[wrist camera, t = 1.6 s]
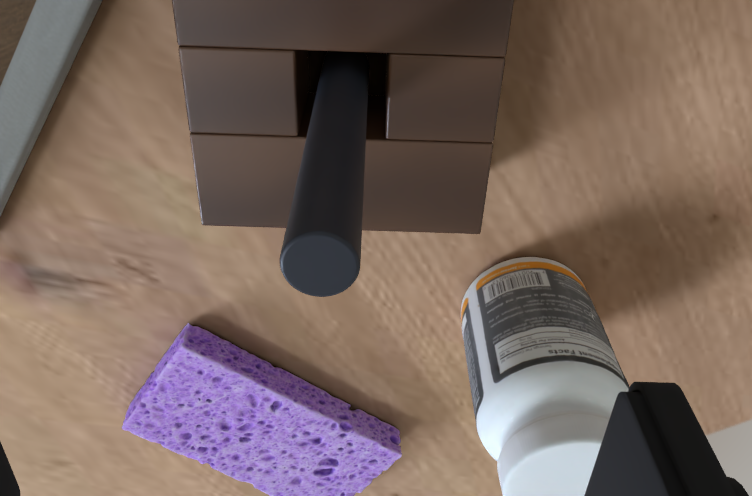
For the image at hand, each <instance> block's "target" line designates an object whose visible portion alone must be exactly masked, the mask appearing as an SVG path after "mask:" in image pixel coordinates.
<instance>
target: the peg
mask: <svg viewBox="0 0 752 496" xmlns="http://www.w3.org/2000/svg"><path fill="white" fill-rule="evenodd" d="M368 84H369V60H368V57H367V55H366V54H365V52H344V51H328V52H327V53H326V55H325V57H324V60H323V65H322V69H321V74H320V79H319V83H318V88H317V92H316V97H315V101H314V106H313V110H312V115H311V119H310V124H309V128H308V133H307V137H306V142H305V146H304V151H303V155H302V160H301V164H300V169H299V174H298V178H297V183H296V187H295V192H294V196H293V201H292V205H291V210H290V214H289V219H288V223H287V228H286V232H285V237H284V241H283V246H282V250H281V255H280V268H281V271H282V273H283V275H284V277H285V279H286V280H287V281H288V283H289V284H290V285H291V286H293V287H294V288H295V289H297V290H298V291H300V292H302V293H305V294H308V295H311V296H319V297H325V296H332V295H336V294H338V293H341V292H343V291H344V290H346V289H347V288H348V287H350V286H351V285H352V284H353V282H354V281H355V280H356V278H357V276H358V274H359V270H360V259H361V237H362V215H363V193H364V171H365V149H366V127H367V106H368Z"/></svg>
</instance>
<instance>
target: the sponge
mask: <svg viewBox="0 0 752 496" xmlns="http://www.w3.org/2000/svg"><path fill="white" fill-rule="evenodd" d="M350 406H351V405H350V404H348V403H346V402H344V401H342V400H340V399H338V398H335V397H332V396H331V395H330V394H328V393H327V392H326V391H324V390H322V389H320V388H318V387H316V386H314V385H312V384H310V383H308V382H306V381H305V380H303V379H301V378H299V377H297V376H295V375H293V374H291V373H289V372H287V371H285V370H283V369H281V368H278V367H275V368H274V367H273V366H272V365H271V363H269V362H267V361H265V360H262V359H260V358H258V357H256V356H255V355H253V354H249V353H248V352H247V351H245V350H242V349H240V348H238V347H237V346H235V345H233V344H232V343H230V342H229V341H226V340H223V339H220V338H219V337H218V336H216V335H213V334H212V333H211V332H209V331H207V330H205V329H201V328H200V327H197V326H191V325H190V324H189V323H188V324H187V325H186V326H185V327H184V328H183V330H182V331H181V332H180V334H179V335H178V336H177V338H176V339H175V341H174V343H173V344H172V345H171V346H170V348H169V350H168V351H167V352H166V353H165V354H164V356H163V357H162V359H161V361H160V362H159V363H158V364H157V366H156V368H155V371H154V372H153V373H151V375H150V377H149V378H148V379H147V381H146V383H145V385H143V386H142V388H141V389H140V390H139V392H138V393H137V394H136V396H135V398H134V399H133V400H132V402H131V403H130V406H129V408H128V410H127V413H126V419H125V420H124V424H123V426H122V429H123V430H127V431H130V432H131V433H133V434H134V435H137V436H139V437H141V438H144V439H147V440H149V441H151V442H157V443H160V444H161V445H162V446H163V447H164V448H168V449H170V450H171V451H173V452H176V453H178V454H181V455H185V456H186V457H188V458H193V459H196V460H198V461H199V462H200V463H201V464H204V463H208V464H210V466H211V467H212V468H213V469H215V470H218V471H220V472H222V473H224V474H226V475H228V476H230V477H233V478H234V479H236V480H239V481H243V482H248V483H251V484H253V485H254V488H256V489H259V490H260V491H262V492H265V493H266V494H268V495H270V496H354V495H355V493H356V492H358V493H361V492H362V491H363V489H364V488H365V487H366V486H368V485H369V484H371V482H372V480H373V478H376V477H377V476H378V475H379V474H381V473H382V471H383V470H387V469H388V468H389V467H390V466H391V465H392V464H393V463H394V462H395V461H396V460H397V459H399V458H400V457H401V456H402V453H401V448H400V447H401V446H399V444H400V442H401V440H400V437H399V435H400V431H399V430H398V429H397V428H395V427H394V426H391V425H390V424H388V423H385V422H382V421H380V420H379V419H378V418H376V417H374V416H372V415H369V414H367V413H366V412H364V411H362V410H360V409H356V410H354V411H352V410H350V409H349V408H350Z"/></svg>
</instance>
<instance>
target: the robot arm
mask: <svg viewBox="0 0 752 496" xmlns="http://www.w3.org/2000/svg"><path fill="white" fill-rule="evenodd" d="M0 496H20V489H19V486H18V483H17V481H16V479H15V476H14V474H13V471H12V469H11V466H10V464H9V462H8V459H7V457H6V454H5V452H4V450H3V447H2V445H1V442H0ZM584 496H749V495H748V494H747V492H746V491H745V489H744V488H743V486H742V485H741V484H740V483H739V482H737V481H736V480H735V479H734V478H730V477H726V475H725V473H724V471H723V469H722V467H721V465H720V463H719V461H718V459H717V457H716V455H715V453H714V451H713V450H712V448H711V446H710V444H709V442H708V440H707V438H706V436H705V434H704V432H703V430H702V428H701V426H700V424H699V422H698V420H697V418H696V417H695V415H694V413H693V411H692V409H691V407H690V405H689V403H688V401H687V399H686V397H685V395H684V393H683V391H682V390H681V388H680V387H679V386H678V385H677V384H675V383H657V382H634V383H633V384H631V386H630V388H629V390H628V392H620V393H618V395H617V398H616V401H615V404H614V407H613V410H612V413H611V416H610V419H609V422H608V425H607V428H606V431H605V434H604V437H603V440H602V443H601V446H600V450H599V453H598V456H597V459H596V462H595V465H594V468H593V471H592V474H591V477H590V480H589V483H588V486H587V489H586V492H585V495H584Z"/></svg>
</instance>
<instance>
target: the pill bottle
mask: <svg viewBox="0 0 752 496" xmlns="http://www.w3.org/2000/svg"><path fill="white" fill-rule="evenodd" d="M461 326H462V334H463V339H464V346H465V353H466V360H467V366H468V374H469V380H470V386H471V393H472V400H473V406H474V413H475V419H476V426H477V431H478V434H479V437H480V439H481V441H482V443H483V445H484V447H485V448H486V450H487V451H488V452H489V454H490V455H491V456H492V457H493V458H494V459H495V460H496V461H497V462H498V463H497V470H498V475H499V480H500V484H501V489H502V493H503V496H584V495H585V492H586V489H587V486H588V483H589V480H590V477H591V474H592V471H593V468H594V465H595V462H596V459H597V456H598V453H599V450H600V446H601V443H602V440H603V437H604V434H605V431H606V428H607V425H608V422H609V419H610V416H611V413H612V410H613V407H614V404H615V401H616V398H617V395H618V393H620V392H628V390H629V388H630V387H629V385H628V382H627V380H626V378H625V376H624V375H623V372H622V370H621V368H620V365H619V363H618V361H617V359H616V357H615V354H614V351H613V349H612V347H611V344H610V342H609V339H608V337H607V335H606V333H605V330H604V327H603V325H602V323H601V321H600V318H599V316H598V314H597V312H596V310H595V307H594V305H593V303H592V301H591V299H590V297H589V294H588V292H587V290H586V288H585V286H584V284H583V283H582V281H581V280H580V278H579V277H578V276H577V275H576V274H575V273H574V272H573V271H572V270H571V269H569V268H568V267H566V266H565V265H563V264H561V263H558V262H556V261H554V260H550V259H546V258H538V257H521V258H515V259H511V260H507V261H504V262H501V263H499V264H496V265H494V266H493V267H491V268H490V269H488V270H486V271H484V272H483V273H481V274H480V275H479V276H478V277H477V278H476V279H475V280H474V281H473V282H472V284H471V285H470V286H469V288H468V290H467V291H466V293H465V296H464V298H463V301H462V305H461Z"/></svg>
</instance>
